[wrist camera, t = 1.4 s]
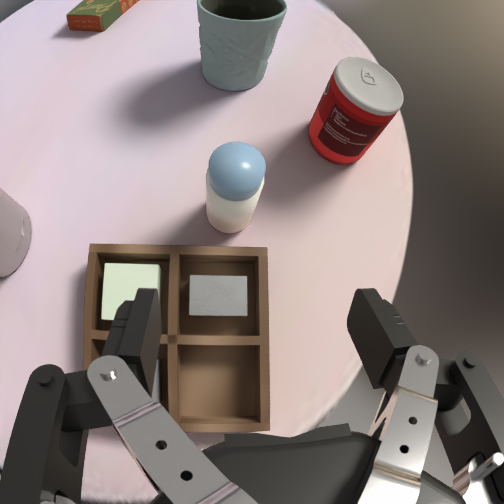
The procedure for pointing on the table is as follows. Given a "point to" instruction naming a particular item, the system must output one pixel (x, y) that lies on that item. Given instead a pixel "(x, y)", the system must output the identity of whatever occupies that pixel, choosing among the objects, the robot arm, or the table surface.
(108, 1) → the carton
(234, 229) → the glue stick
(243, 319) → the organizer
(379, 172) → the table surface
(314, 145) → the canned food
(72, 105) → the table surface
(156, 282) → the note block
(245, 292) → the grey rectangular block
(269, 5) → the green cup
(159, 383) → the eraser
